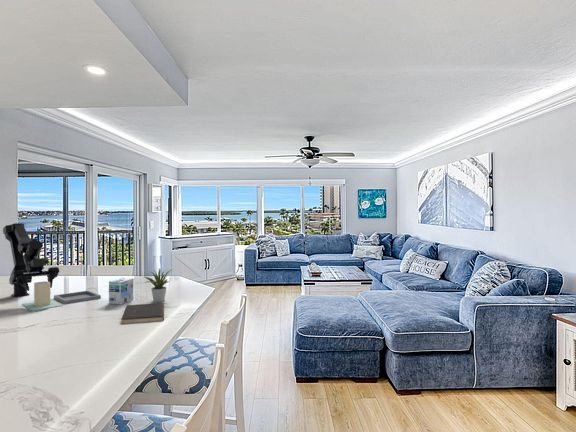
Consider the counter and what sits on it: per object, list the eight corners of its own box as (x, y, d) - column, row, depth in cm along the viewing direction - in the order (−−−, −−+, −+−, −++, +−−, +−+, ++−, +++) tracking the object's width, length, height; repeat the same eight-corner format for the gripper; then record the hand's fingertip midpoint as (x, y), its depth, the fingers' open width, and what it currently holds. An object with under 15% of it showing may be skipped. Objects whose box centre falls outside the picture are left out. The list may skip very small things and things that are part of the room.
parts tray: (54, 299, 191) (54, 295, 191) (88, 294, 203) (88, 290, 203) (65, 305, 180) (65, 300, 180) (100, 299, 192) (100, 295, 192)
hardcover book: (121, 324, 152) (121, 319, 152) (126, 310, 174) (126, 305, 174) (163, 321, 157) (163, 316, 157) (163, 307, 179) (163, 302, 179)
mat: (22, 305, 178) (22, 303, 178) (51, 301, 187) (51, 299, 187) (32, 311, 168) (32, 310, 168) (62, 306, 176) (62, 305, 176)
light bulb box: (120, 304, 181) (120, 282, 181) (108, 304, 183) (108, 281, 183) (134, 299, 192) (134, 278, 192) (122, 298, 193) (122, 277, 193)
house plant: (165, 295, 202) (165, 264, 201) (181, 299, 193) (181, 266, 192) (139, 300, 191) (139, 267, 190) (155, 304, 182) (155, 270, 181)
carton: (34, 304, 177) (34, 282, 177) (46, 302, 181) (46, 281, 181) (38, 306, 174) (37, 283, 174) (50, 304, 178) (50, 282, 178)
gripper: (12, 253, 175) (20, 281, 169) (58, 250, 190) (66, 275, 183) (7, 268, 181) (15, 296, 174) (52, 264, 195) (60, 289, 188)
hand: (40, 288), depth 180 cm, fingers open, 9 cm apart
